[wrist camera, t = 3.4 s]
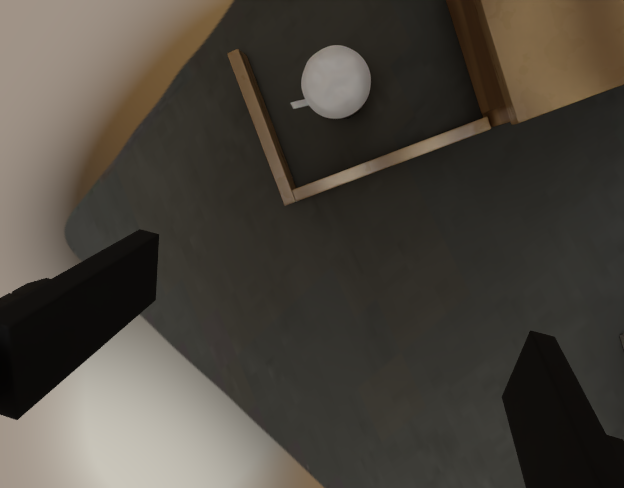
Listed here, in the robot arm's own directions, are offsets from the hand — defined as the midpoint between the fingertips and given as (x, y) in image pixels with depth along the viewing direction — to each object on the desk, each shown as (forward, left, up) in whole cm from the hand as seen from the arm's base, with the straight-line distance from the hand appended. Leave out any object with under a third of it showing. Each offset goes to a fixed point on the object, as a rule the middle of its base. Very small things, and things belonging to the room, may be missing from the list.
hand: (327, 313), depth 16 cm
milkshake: (-2, -10, -24) cm, 26 cm away
